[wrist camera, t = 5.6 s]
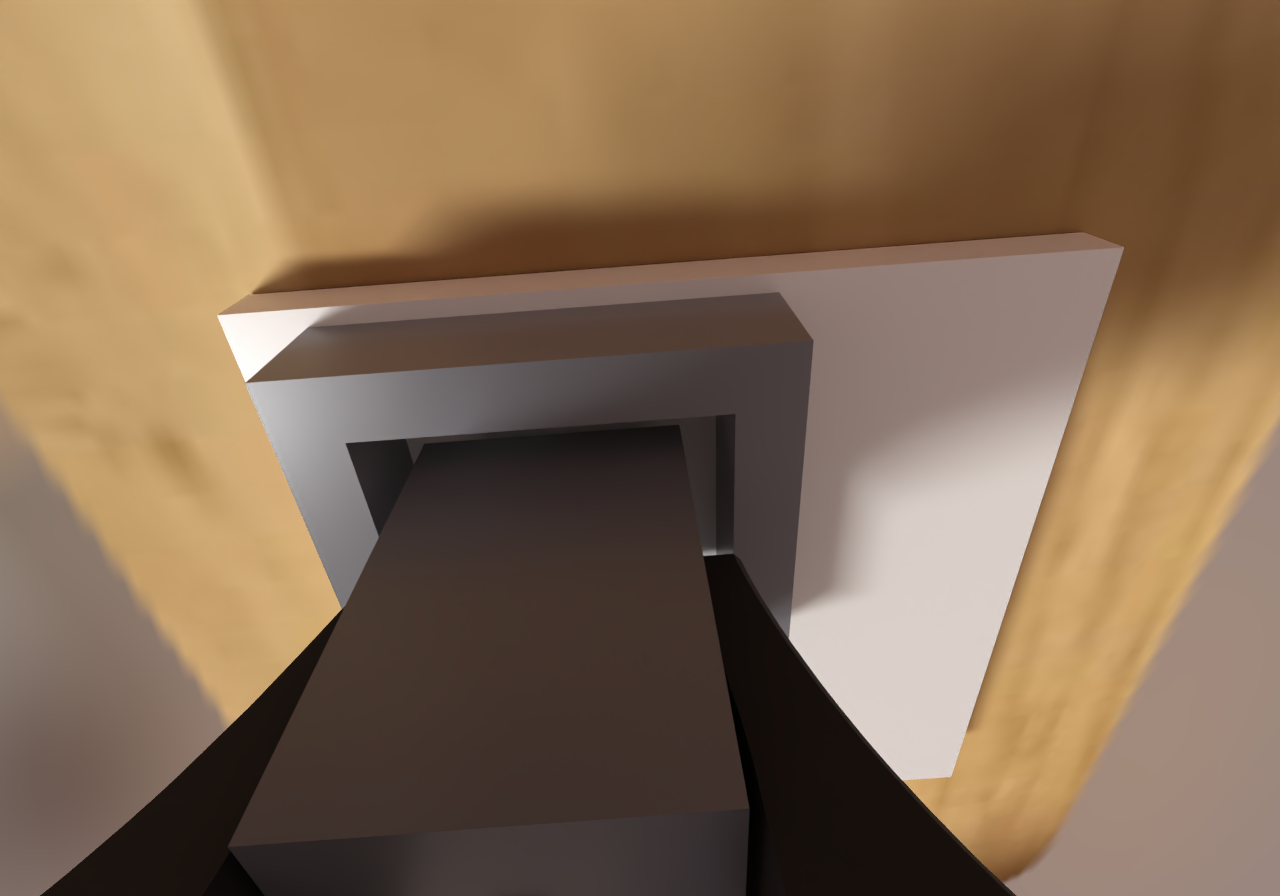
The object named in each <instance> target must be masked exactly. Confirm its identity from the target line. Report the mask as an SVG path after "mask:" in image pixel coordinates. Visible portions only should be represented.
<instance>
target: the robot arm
mask: <svg viewBox="0 0 1280 896" xmlns="http://www.w3.org/2000/svg"><path fill="white" fill-rule="evenodd" d="M703 557H704V563H705V568H706V574H707V579H708V584H709V590H710V595H711V601H712V606H713V612H714V617H715V623H716V628H717V634H718V639H719V645H720V650H721V655H722V661H723V666H724V672H725V677H726V683H727V688H728V694H729V699H730V705H731V710H732V716H733V721H734V726H735V732H736V737H737V743H738V748H739V754H740V759H741V765H742V770H743V776H744V781H745V787H746V792H747V797H748V803H749V808H750V810H749V833H748V855H747V877H746V896H1016V895H1015V894H1014V893H1013V892H1012V891H1011V890H1010V889H1009V888H1007V887H1006V886H1005V885H1004V884H1003V883H1002V882H1001V881H1000V880H999V879H998V878H997V877H996V876H995V875H994V874H993V873H992V872H990V871H989V870H988V869H987V868H986V867H985V866H984V865H983V864H982V863H981V862H980V861H979V860H978V859H977V858H976V857H975V856H974V855H973V854H972V853H971V852H970V851H969V850H968V849H967V848H966V847H965V846H964V845H963V844H962V843H961V842H960V841H959V840H958V839H957V838H956V837H955V836H954V835H953V834H952V833H951V832H950V830H949V829H948V828H947V827H946V826H945V825H944V824H943V823H942V822H941V821H940V820H939V819H938V818H937V817H936V816H935V815H934V814H933V813H932V812H931V811H930V810H929V809H928V808H927V807H926V806H925V805H924V803H923V802H922V801H921V800H920V799H919V798H918V797H917V796H916V795H915V794H914V793H913V792H912V790H911V789H910V788H909V787H908V786H907V785H906V784H905V783H904V782H903V781H902V780H901V779H900V777H899V776H898V775H897V774H896V773H895V772H894V771H893V770H892V769H891V767H890V766H889V765H888V764H887V763H886V762H885V761H884V759H883V758H882V757H881V756H880V755H879V754H878V753H877V751H876V750H875V749H874V748H873V747H872V746H871V744H870V743H869V742H868V741H867V740H866V739H865V737H864V736H863V735H862V734H861V732H860V731H859V730H858V729H857V728H856V726H855V725H854V724H853V723H852V721H851V720H850V719H849V718H848V717H847V715H846V714H845V713H844V712H843V710H842V709H841V708H840V707H839V706H838V704H837V703H836V702H835V700H834V699H833V698H832V697H831V695H830V694H829V693H828V691H827V690H826V689H825V688H824V686H823V685H822V684H821V682H820V681H819V680H818V678H817V677H816V676H815V674H814V673H813V672H812V670H811V669H810V667H809V666H808V665H807V663H806V662H805V661H804V659H803V658H802V656H801V655H800V654H799V652H798V651H797V650H796V648H795V647H794V645H793V644H792V643H791V641H790V640H789V638H788V637H787V635H786V634H785V632H784V631H783V630H782V628H781V627H780V625H779V624H778V622H777V621H776V619H775V617H774V616H773V614H772V613H771V611H770V610H769V608H768V607H767V605H766V604H765V602H764V600H763V599H762V597H761V595H760V594H759V592H758V590H757V589H756V587H755V585H754V584H753V582H752V580H751V578H750V576H749V575H748V573H747V571H746V569H745V567H744V565H743V563H742V561H741V559H739V558H738V557H737V556H736V555H734V554H722V555H708V556H703ZM344 607H345V606H344ZM343 609H344V608H343ZM343 609H342V610H341V611H340V612H339V613H338V614H337V615H336V616H335V617H334V618H333V619H332V620H331V622H330V623H329V624H328V625H327V626H326V627H325V628H324V629H323V630H322V631H321V632H320V633H319V635H318V636H317V637H316V638H315V639H314V640H313V641H312V642H311V643H310V644H309V645H308V646H307V647H306V648H305V649H304V651H303V652H302V653H301V654H300V655H299V656H298V657H297V658H296V659H295V660H294V661H293V662H292V663H291V664H290V665H289V666H288V667H287V668H286V669H285V670H284V672H283V673H282V674H281V675H280V676H279V677H278V678H277V679H276V680H275V681H274V682H273V683H272V684H271V685H270V686H269V687H268V688H267V689H266V690H265V691H264V692H263V693H262V695H261V696H260V697H259V698H258V699H257V700H256V701H255V702H254V703H253V704H252V705H251V706H250V707H249V708H248V709H247V710H246V711H245V712H244V713H243V714H242V715H241V716H240V717H239V718H238V719H237V720H236V721H235V722H233V723H232V724H231V725H230V726H229V727H228V728H227V729H226V730H225V731H224V732H223V733H222V734H221V735H220V736H219V737H218V738H217V739H216V740H215V741H214V742H213V743H212V744H211V745H210V746H209V747H208V748H207V749H206V750H205V751H204V752H203V753H202V754H201V755H200V756H198V757H197V758H196V759H195V760H194V761H193V762H192V763H191V764H190V765H189V766H188V767H187V768H186V769H185V770H184V771H183V772H182V773H181V774H180V775H179V776H178V777H177V778H176V779H175V780H174V781H173V782H172V783H170V784H169V785H168V786H167V787H166V788H165V789H164V790H163V791H162V792H161V793H160V794H158V795H157V796H156V797H155V798H154V799H153V800H152V801H151V802H150V803H148V804H147V805H146V806H145V807H144V808H143V809H142V810H141V811H139V812H138V813H137V814H136V815H135V816H134V817H133V818H132V819H131V820H130V821H128V822H127V823H126V824H125V825H124V826H123V827H122V828H120V829H119V830H118V831H117V832H116V833H115V834H113V835H112V836H111V837H110V838H109V839H108V840H106V841H105V842H104V843H103V844H102V845H100V846H99V847H98V848H97V849H96V850H95V851H94V852H92V853H91V854H90V855H89V856H88V857H86V858H85V859H84V860H83V861H82V862H81V863H79V864H78V865H77V866H76V867H75V868H74V869H72V870H71V871H70V872H69V873H68V874H67V875H65V876H64V877H63V878H62V879H60V880H59V881H58V882H57V883H55V884H54V885H53V886H52V887H51V888H49V889H48V890H47V891H46V892H44V893H43V894H42V895H40V896H265V895H264V894H263V893H262V891H261V890H260V889H259V888H258V886H257V885H256V884H255V882H254V881H253V880H252V878H251V877H250V876H249V874H248V873H247V872H246V870H245V869H244V868H243V867H242V865H241V864H240V863H239V861H238V860H237V859H236V857H235V856H234V855H233V853H232V852H231V851H230V849H229V848H228V845H229V843H230V841H231V839H232V837H233V835H234V833H235V831H236V829H237V827H238V825H239V823H240V821H241V819H242V817H243V815H244V812H245V810H246V808H247V806H248V804H249V802H250V800H251V798H252V796H253V794H254V792H255V790H256V788H257V786H258V784H259V782H260V780H261V778H262V776H263V774H264V771H265V769H266V767H267V765H268V763H269V761H270V759H271V757H272V755H273V753H274V751H275V749H276V747H277V745H278V743H279V741H280V739H281V737H282V735H283V733H284V730H285V728H286V726H287V724H288V722H289V720H290V718H291V716H292V714H293V712H294V710H295V708H296V706H297V704H298V702H299V700H300V698H301V696H302V694H303V692H304V689H305V687H306V685H307V683H308V681H309V679H310V677H311V675H312V673H313V671H314V669H315V667H316V665H317V663H318V661H319V659H320V657H321V655H322V653H323V650H324V648H325V646H326V644H327V642H328V640H329V638H330V636H331V634H332V632H333V630H334V628H335V626H336V624H337V622H338V620H339V618H340V616H341V614H342V612H343Z"/></svg>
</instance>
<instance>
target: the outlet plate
mask: <svg viewBox="0 0 1280 896" xmlns="http://www.w3.org/2000/svg"><path fill="white" fill-rule="evenodd" d="M1123 250H1124V247H1122V246H1120V245H1117V244H1114V243H1111V242H1109V241H1106V240H1103V239H1101V238H1098V237H1095V236H1093V235H1090V234H1087V233H1085V232H1078V233H1065V234H1052V235H1038V236H1025V237H1012V238H998V239H985V240H972V241H958V242H945V243H932V244H918V245H905V246H892V247H878V248H865V249H852V250H838V251H825V252H812V253H798V254H785V255H772V256H758V257H745V258H732V259H718V260H705V261H692V262H678V263H665V264H652V265H638V266H625V267H612V268H598V269H585V270H572V271H558V272H545V273H532V274H518V275H505V276H492V277H478V278H465V279H452V280H438V281H425V282H412V283H398V284H385V285H372V286H358V287H345V288H332V289H318V290H305V291H292V292H278V293H265V294H252V295H247V296H246V297H244V298H243V299H241V300H240V301H238V302H237V303H235V304H234V305H232V306H230V307H229V308H227V309H226V310H224V311H223V312H221V313H220V314H218V315H217V316H218V319H219V321H220V323H221V326H222V328H223V330H224V333H225V335H226V337H227V340H228V342H229V344H230V347H231V349H232V351H233V354H234V356H235V358H236V361H237V363H238V365H239V368H240V370H241V372H242V375H243V377H244V380H245V382H246V383H245V384H246V387H247V389H248V391H249V394H250V396H251V398H252V401H253V403H254V405H255V408H256V410H257V412H258V415H259V417H260V419H261V421H262V424H263V426H264V428H265V431H266V433H267V435H268V438H269V440H270V442H271V445H272V447H273V449H274V452H275V454H276V456H277V459H278V461H279V463H280V466H281V468H282V470H283V473H284V475H285V477H286V480H287V482H288V484H289V487H290V489H291V491H292V494H293V496H294V498H295V501H296V503H297V505H298V508H299V510H300V512H301V515H302V517H303V519H304V522H305V524H306V526H307V529H308V531H309V533H310V536H311V538H312V540H313V543H314V545H315V547H316V550H317V552H318V554H319V557H320V559H321V561H322V564H323V566H324V568H325V571H326V573H327V575H328V578H329V580H330V582H331V585H332V587H333V589H334V592H335V594H336V596H337V599H338V601H339V603H340V606H341V608H342V609H343V608H344V606H345V605H346V603H347V601H348V599H349V597H350V595H351V593H352V591H353V589H354V587H355V585H356V583H357V581H358V579H359V577H360V575H361V573H362V571H363V568H364V566H365V564H366V562H367V560H368V558H369V556H370V554H371V552H372V550H373V548H374V546H375V544H376V542H377V540H378V538H379V536H380V534H381V532H382V530H383V527H384V525H385V523H386V521H387V519H388V517H389V515H390V513H391V511H392V509H393V507H394V505H395V503H396V501H397V499H398V497H399V495H400V493H401V491H402V489H403V486H404V484H405V482H406V480H407V478H408V476H409V474H410V472H411V470H412V468H413V466H414V464H415V462H416V460H417V458H418V456H419V454H420V452H421V450H422V448H423V445H424V444H426V443H440V442H453V441H467V440H480V439H493V438H507V437H520V436H534V435H547V434H560V433H574V432H587V431H601V430H614V429H627V428H641V427H654V426H668V425H679V426H680V432H681V437H682V442H683V448H684V453H685V459H686V464H687V470H688V475H689V481H690V486H691V492H692V497H693V503H694V508H695V513H696V519H697V524H698V530H699V535H700V541H701V546H702V552H703V556H708V555H722V554H734V555H736V556H737V557H738V558H739V559H741V561H742V563H743V565H744V567H745V569H746V571H747V573H748V575H749V576H750V578H751V580H752V582H753V584H754V585H755V587H756V589H757V590H758V592H759V594H760V595H761V597H762V599H763V600H764V602H765V604H766V605H767V607H768V608H769V610H770V611H771V613H772V614H773V616H774V617H775V619H776V621H777V622H778V624H779V625H780V627H781V628H782V630H783V631H784V632H785V634H786V635H787V637H788V638H789V640H790V641H791V643H792V644H793V645H794V647H795V648H796V650H797V651H798V652H799V654H800V655H801V656H802V658H803V659H804V661H805V662H806V663H807V665H808V666H809V667H810V669H811V670H812V672H813V673H814V674H815V676H816V677H817V678H818V680H819V681H820V682H821V684H822V685H823V686H824V688H825V689H826V690H827V691H828V693H829V694H830V695H831V697H832V698H833V699H834V700H835V702H836V703H837V704H838V706H839V707H840V708H841V709H842V710H843V712H844V713H845V714H846V715H847V717H848V718H849V719H850V720H851V721H852V723H853V724H854V725H855V726H856V728H857V729H858V730H859V731H860V732H861V734H862V735H863V736H864V737H865V739H866V740H867V741H868V742H869V743H870V744H871V746H872V747H873V748H874V749H875V750H876V751H877V753H878V754H879V755H880V756H881V757H882V758H883V759H884V761H885V762H886V763H887V764H888V765H889V766H890V767H891V769H892V770H893V771H894V772H895V773H896V774H897V775H898V776H899V777H900V779H901V780H914V779H928V778H942V777H951V776H952V773H953V770H954V767H955V764H956V761H957V757H958V754H959V751H960V748H961V745H962V742H963V739H964V736H965V733H966V730H967V727H968V724H969V721H970V718H971V715H972V712H973V709H974V706H975V702H976V699H977V696H978V693H979V690H980V687H981V684H982V681H983V678H984V675H985V672H986V669H987V666H988V663H989V660H990V657H991V654H992V651H993V647H994V644H995V641H996V638H997V635H998V632H999V629H1000V626H1001V623H1002V620H1003V617H1004V614H1005V611H1006V608H1007V605H1008V602H1009V599H1010V596H1011V592H1012V589H1013V586H1014V583H1015V580H1016V577H1017V574H1018V571H1019V568H1020V565H1021V562H1022V559H1023V556H1024V553H1025V550H1026V547H1027V544H1028V541H1029V537H1030V534H1031V531H1032V528H1033V525H1034V522H1035V519H1036V516H1037V513H1038V510H1039V507H1040V504H1041V501H1042V498H1043V495H1044V492H1045V489H1046V486H1047V482H1048V479H1049V476H1050V473H1051V470H1052V467H1053V464H1054V461H1055V458H1056V455H1057V452H1058V449H1059V446H1060V443H1061V440H1062V437H1063V434H1064V431H1065V427H1066V424H1067V421H1068V418H1069V415H1070V412H1071V409H1072V406H1073V403H1074V400H1075V397H1076V394H1077V391H1078V388H1079V385H1080V382H1081V379H1082V376H1083V372H1084V369H1085V366H1086V363H1087V360H1088V357H1089V354H1090V351H1091V348H1092V345H1093V342H1094V339H1095V336H1096V333H1097V330H1098V327H1099V324H1100V321H1101V317H1102V314H1103V311H1104V308H1105V305H1106V302H1107V299H1108V296H1109V293H1110V290H1111V287H1112V284H1113V281H1114V278H1115V275H1116V272H1117V269H1118V266H1119V262H1120V259H1121V256H1122V253H1123Z"/></svg>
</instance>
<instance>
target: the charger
mask: <svg viewBox="0 0 1280 896" xmlns="http://www.w3.org/2000/svg"><path fill="white" fill-rule="evenodd" d="M749 810H750V808H749V803H748V797H747V792H746V787H745V781H744V776H743V770H742V765H741V759H740V754H739V748H738V743H737V737H736V732H735V726H734V721H733V716H732V710H731V705H730V699H729V694H728V688H727V683H726V677H725V672H724V666H723V661H722V655H721V650H720V645H719V639H718V634H717V628H716V623H715V617H714V612H713V606H712V601H711V595H710V590H709V584H708V579H707V574H706V568H705V563H704V557H703V552H702V546H701V541H700V535H699V530H698V524H697V519H696V513H695V508H694V503H693V497H692V492H691V486H690V481H689V475H688V470H687V464H686V459H685V453H684V448H683V442H682V437H681V432H680V426H679V425H668V426H654V427H641V428H627V429H614V430H601V431H587V432H574V433H560V434H547V435H534V436H520V437H507V438H493V439H480V440H467V441H453V442H440V443H426V444H424V445H423V448H422V450H421V452H420V454H419V456H418V458H417V460H416V462H415V464H414V466H413V468H412V470H411V472H410V474H409V476H408V478H407V480H406V482H405V484H404V486H403V489H402V491H401V493H400V495H399V497H398V499H397V501H396V503H395V505H394V507H393V509H392V511H391V513H390V515H389V517H388V519H387V521H386V523H385V525H384V527H383V530H382V532H381V534H380V536H379V538H378V540H377V542H376V544H375V546H374V548H373V550H372V552H371V554H370V556H369V558H368V560H367V562H366V564H365V566H364V568H363V571H362V573H361V575H360V577H359V579H358V581H357V583H356V585H355V587H354V589H353V591H352V593H351V595H350V597H349V599H348V601H347V603H346V605H345V607H344V609H343V612H342V614H341V616H340V618H339V620H338V622H337V624H336V626H335V628H334V630H333V632H332V634H331V636H330V638H329V640H328V642H327V644H326V646H325V648H324V650H323V653H322V655H321V657H320V659H319V661H318V663H317V665H316V667H315V669H314V671H313V673H312V675H311V677H310V679H309V681H308V683H307V685H306V687H305V689H304V692H303V694H302V696H301V698H300V700H299V702H298V704H297V706H296V708H295V710H294V712H293V714H292V716H291V718H290V720H289V722H288V724H287V726H286V728H285V730H284V733H283V735H282V737H281V739H280V741H279V743H278V745H277V747H276V749H275V751H274V753H273V755H272V757H271V759H270V761H269V763H268V765H267V767H266V769H265V771H264V774H263V776H262V778H261V780H260V782H259V784H258V786H257V788H256V790H255V792H254V794H253V796H252V798H251V800H250V802H249V804H248V806H247V808H246V810H245V812H244V815H243V817H242V819H241V821H240V823H239V825H238V827H237V829H236V831H235V833H234V835H233V837H232V839H231V841H230V843H229V845H228V848H229V849H230V851H231V852H232V853H233V855H234V856H235V857H236V859H237V860H238V861H239V863H240V864H241V865H242V867H243V868H244V869H245V870H246V872H247V873H248V874H249V876H250V877H251V878H252V880H253V881H254V882H255V884H256V885H257V886H258V888H259V889H260V890H261V891H262V893H263V894H264V895H265V896H746V877H747V855H748V833H749Z"/></svg>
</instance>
